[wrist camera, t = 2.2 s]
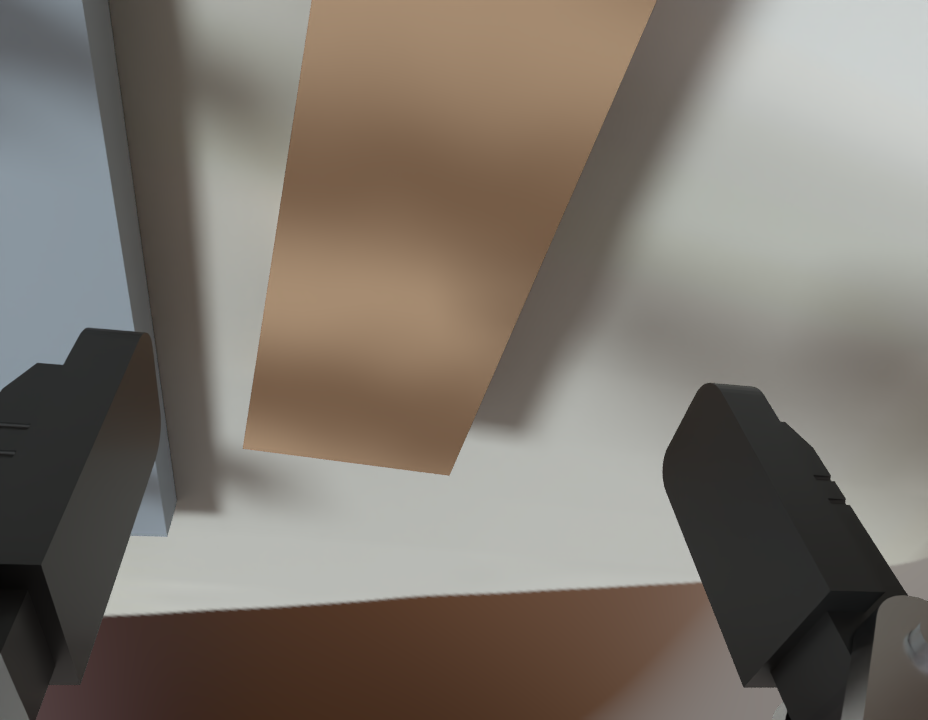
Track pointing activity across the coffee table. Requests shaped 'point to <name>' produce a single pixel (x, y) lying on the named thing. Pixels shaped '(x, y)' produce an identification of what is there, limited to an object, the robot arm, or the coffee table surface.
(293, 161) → the shelf board
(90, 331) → the robot arm
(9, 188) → the peg stand
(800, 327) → the coffee table surface
